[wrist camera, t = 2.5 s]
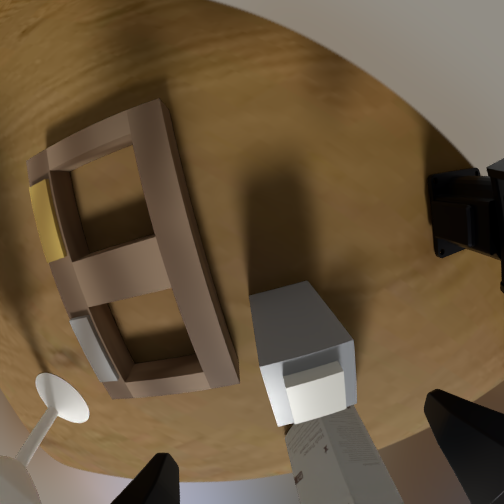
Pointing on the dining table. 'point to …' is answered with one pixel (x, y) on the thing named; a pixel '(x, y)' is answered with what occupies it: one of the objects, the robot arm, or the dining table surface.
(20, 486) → the champagne flute
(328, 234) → the dining table surface
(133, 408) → the dining table surface
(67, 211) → the brown wooden flat frame
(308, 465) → the skincare box
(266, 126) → the dining table surface
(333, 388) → the plug
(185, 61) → the dining table surface
